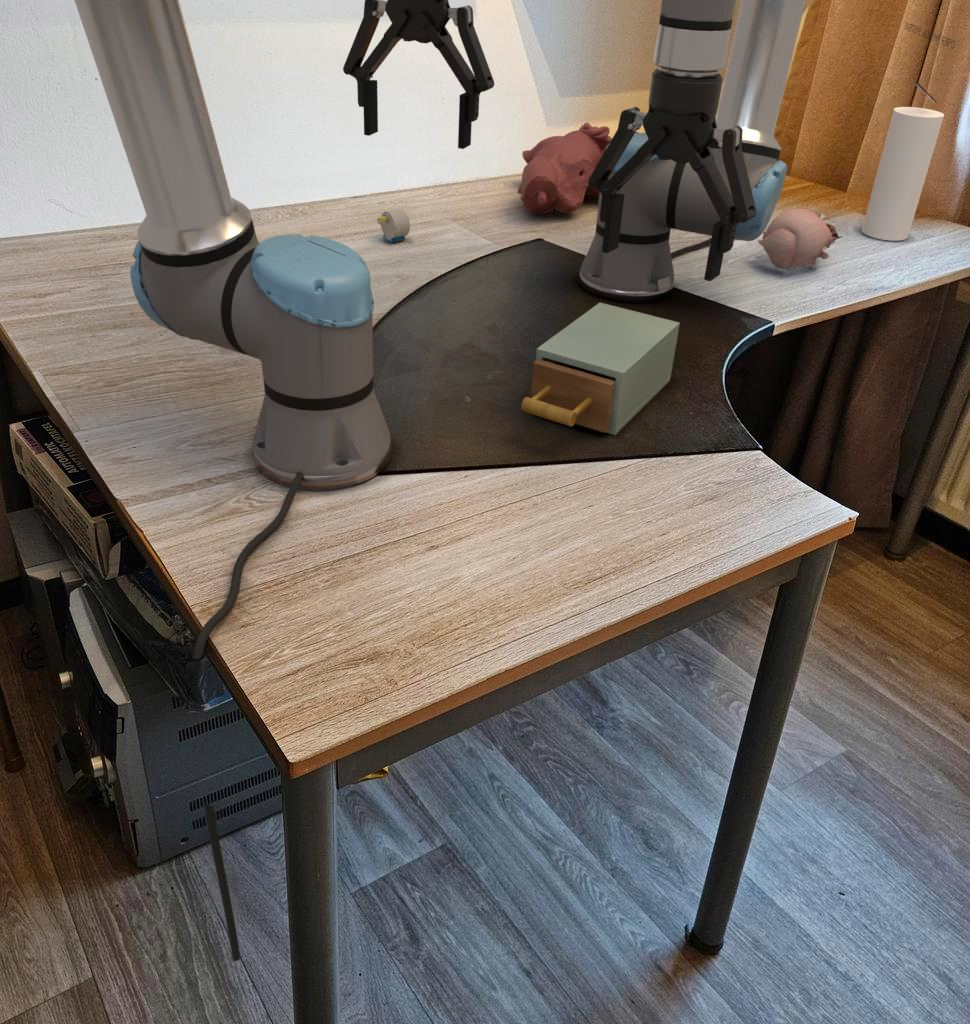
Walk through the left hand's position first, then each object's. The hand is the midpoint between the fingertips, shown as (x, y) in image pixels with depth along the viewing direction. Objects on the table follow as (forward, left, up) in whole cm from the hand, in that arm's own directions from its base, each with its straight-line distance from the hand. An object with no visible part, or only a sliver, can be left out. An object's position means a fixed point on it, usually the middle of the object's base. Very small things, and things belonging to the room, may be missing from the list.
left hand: (417, 140), depth 128 cm
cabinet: (-14, -32, -25) cm, 43 cm away
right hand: (-12, -36, -8) cm, 39 cm away
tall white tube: (+74, -66, -25) cm, 102 cm away
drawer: (-19, -31, -24) cm, 43 cm away
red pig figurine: (+65, -7, -25) cm, 70 cm away
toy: (+48, -51, -25) cm, 74 cm away
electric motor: (+29, +16, -25) cm, 41 cm away
